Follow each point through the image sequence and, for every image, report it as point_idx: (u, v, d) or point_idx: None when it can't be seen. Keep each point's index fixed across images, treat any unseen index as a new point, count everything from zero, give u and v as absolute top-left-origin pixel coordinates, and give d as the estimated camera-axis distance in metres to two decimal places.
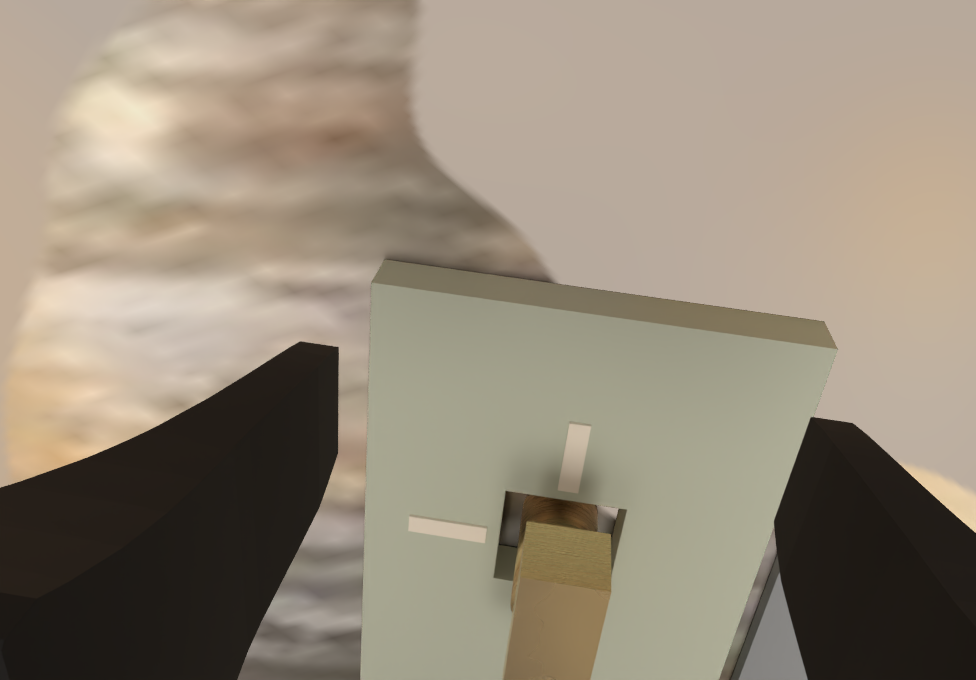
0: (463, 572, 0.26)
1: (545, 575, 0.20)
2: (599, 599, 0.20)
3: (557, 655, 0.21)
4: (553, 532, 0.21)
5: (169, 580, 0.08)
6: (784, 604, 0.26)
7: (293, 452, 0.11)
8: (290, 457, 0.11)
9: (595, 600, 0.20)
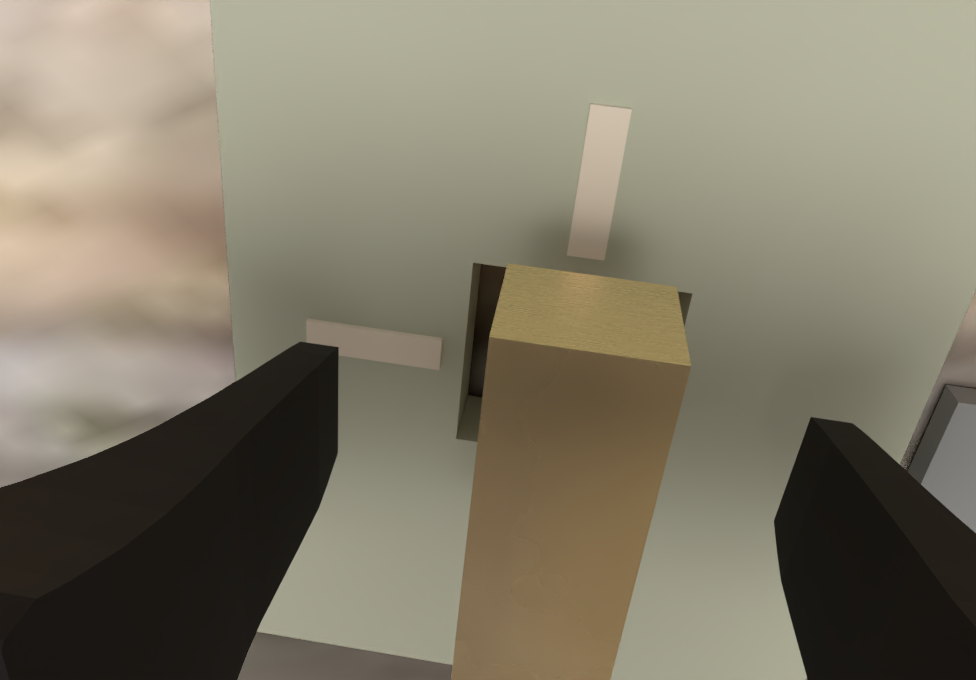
0: (405, 430, 0.15)
1: (543, 336, 0.09)
2: (663, 386, 0.09)
3: (569, 525, 0.10)
4: (561, 279, 0.10)
5: (169, 579, 0.08)
6: (951, 485, 0.15)
7: (293, 452, 0.11)
8: (290, 457, 0.11)
9: (654, 389, 0.09)
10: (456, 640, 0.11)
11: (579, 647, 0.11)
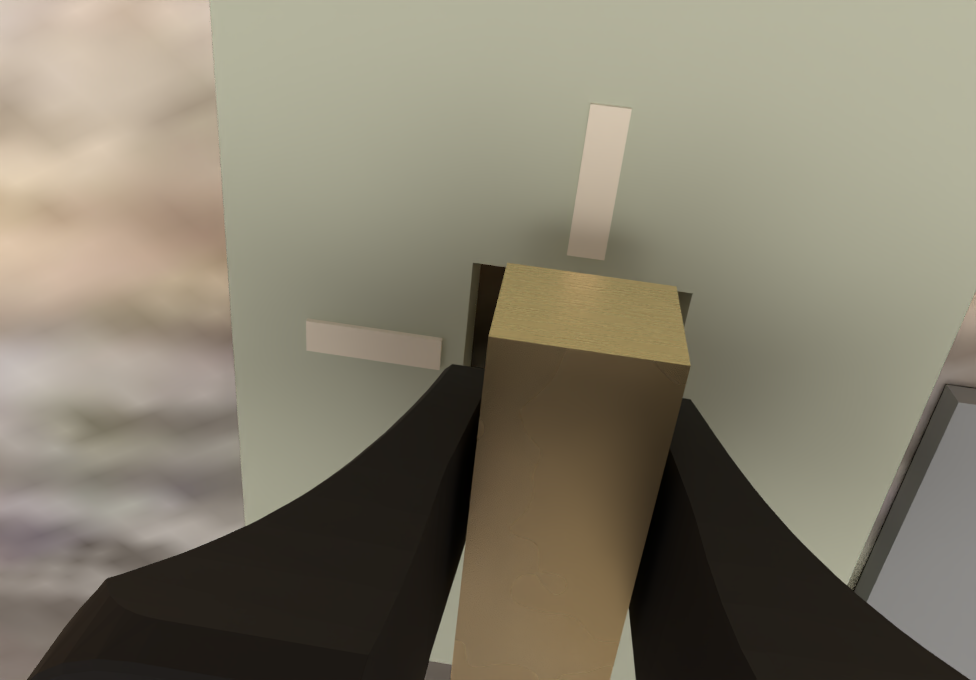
0: None
1: (543, 335, 0.09)
2: (662, 386, 0.09)
3: (569, 525, 0.10)
4: (560, 279, 0.10)
5: (408, 620, 0.08)
6: (951, 485, 0.15)
7: (464, 479, 0.11)
8: (462, 484, 0.11)
9: (654, 390, 0.09)
10: (455, 640, 0.11)
11: (579, 647, 0.11)
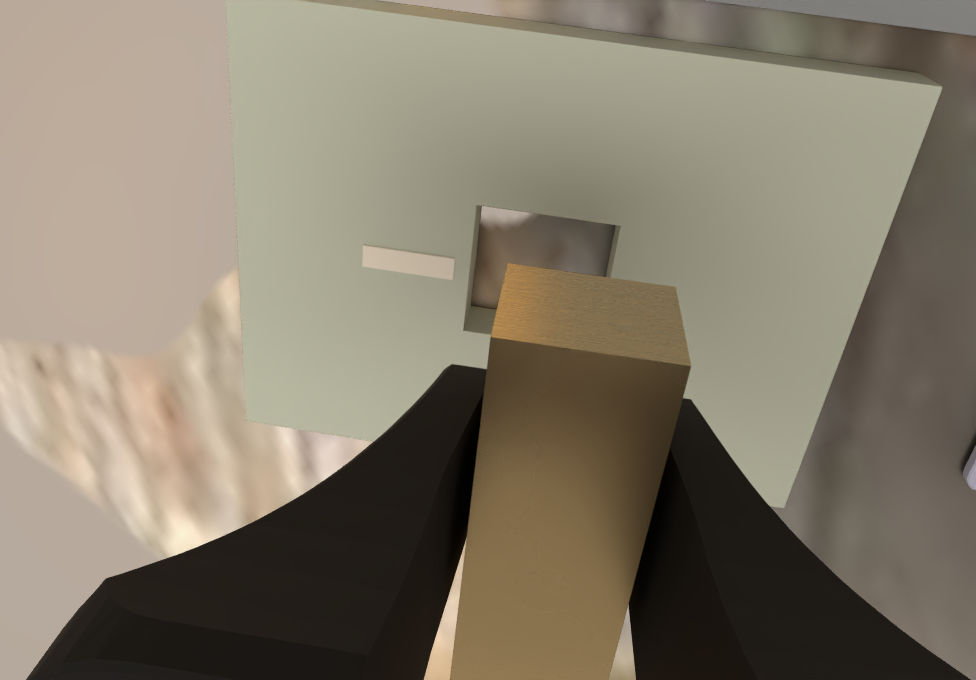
0: None
1: (545, 336, 0.09)
2: (663, 386, 0.09)
3: (569, 524, 0.10)
4: (560, 280, 0.10)
5: (407, 620, 0.08)
6: None
7: (464, 479, 0.11)
8: (462, 484, 0.11)
9: (655, 389, 0.09)
10: (455, 639, 0.11)
11: (578, 645, 0.11)
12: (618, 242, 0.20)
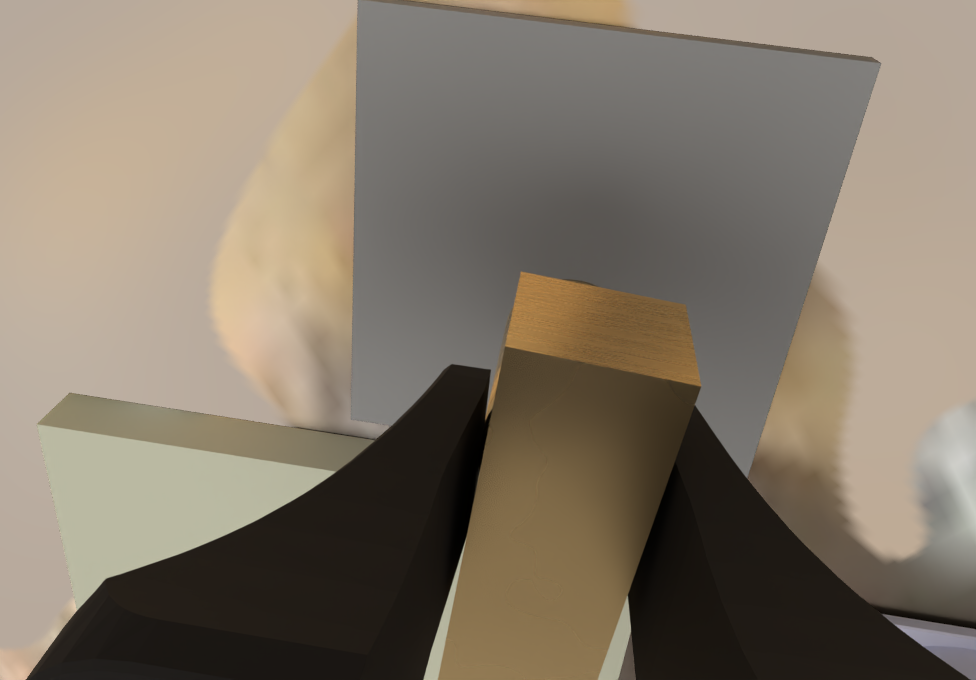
0: None
1: (559, 348, 0.09)
2: (672, 404, 0.09)
3: (568, 534, 0.10)
4: (573, 291, 0.11)
5: (407, 620, 0.08)
6: None
7: (464, 479, 0.11)
8: (462, 484, 0.11)
9: (664, 407, 0.09)
10: (446, 639, 0.12)
11: (568, 652, 0.11)
12: None
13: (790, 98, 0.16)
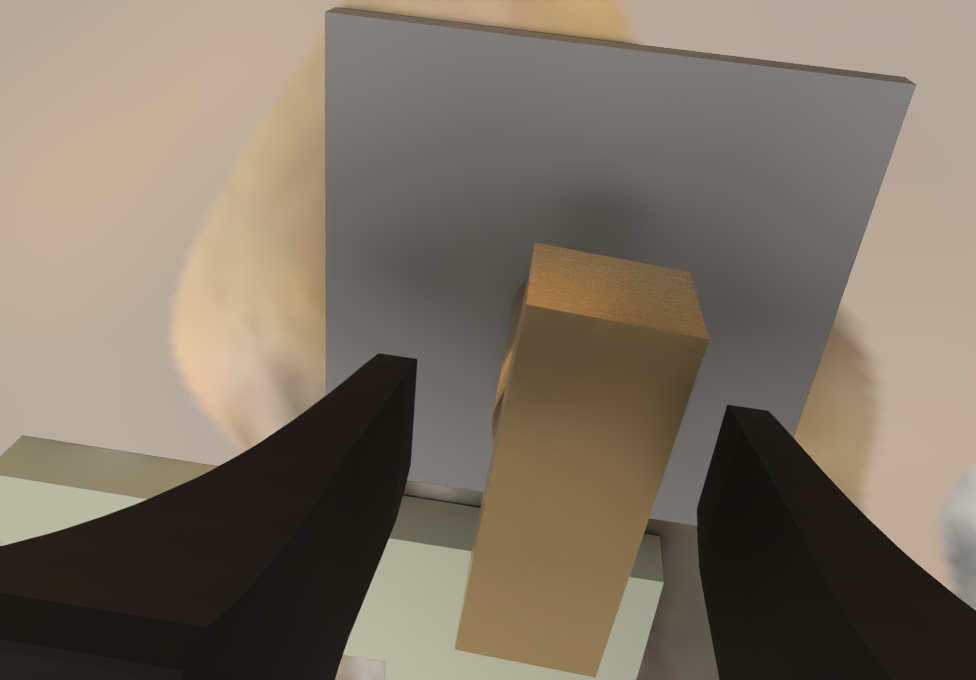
0: None
1: (575, 305, 0.10)
2: (682, 357, 0.10)
3: (584, 486, 0.11)
4: (584, 260, 0.11)
5: (292, 601, 0.08)
6: None
7: (381, 466, 0.11)
8: (379, 471, 0.11)
9: (674, 360, 0.10)
10: (466, 596, 0.12)
11: (582, 606, 0.12)
12: (386, 672, 0.21)
13: (812, 123, 0.14)
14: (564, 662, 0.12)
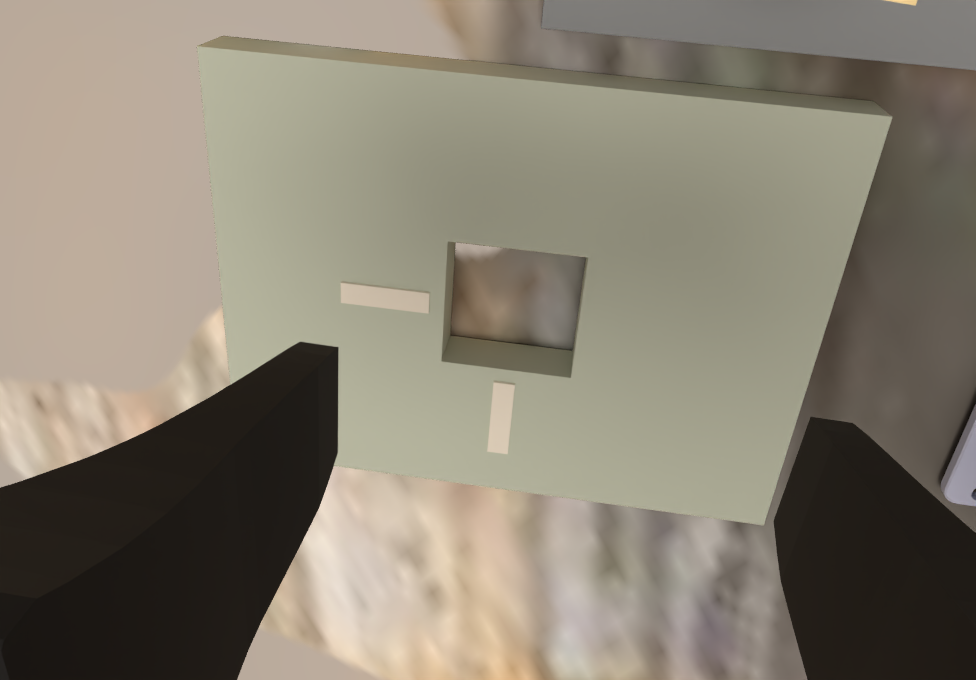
0: (566, 407, 0.23)
1: None
2: None
3: None
4: None
5: (169, 580, 0.08)
6: (622, 11, 0.19)
7: (293, 452, 0.11)
8: (290, 457, 0.11)
9: None
10: None
11: None
12: (586, 273, 0.21)
13: None
14: None
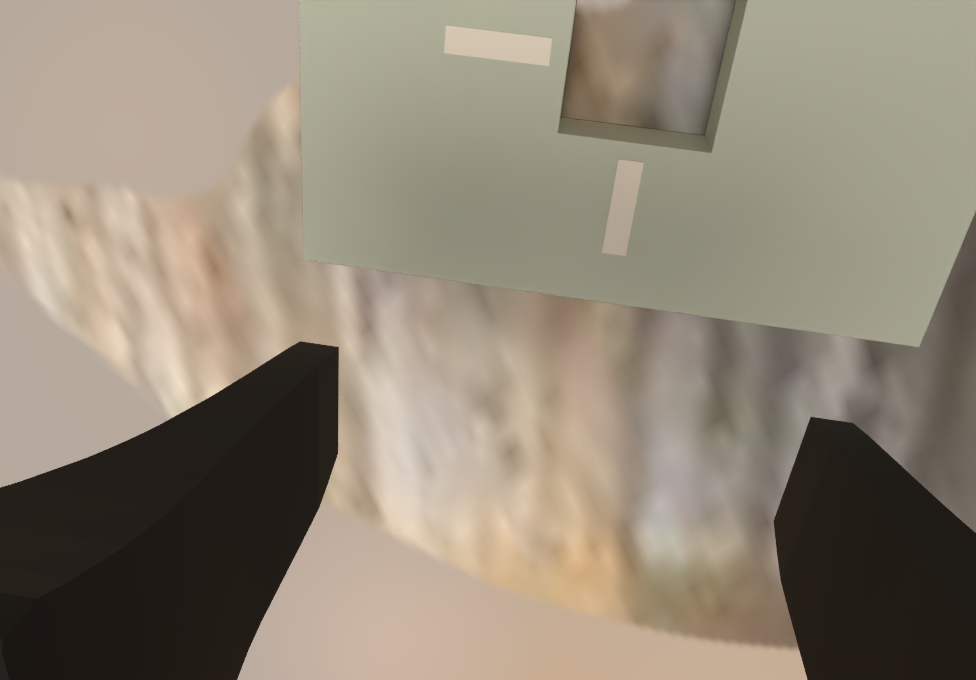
0: (702, 193, 0.20)
1: None
2: None
3: None
4: None
5: (169, 580, 0.08)
6: None
7: (293, 452, 0.11)
8: (290, 457, 0.11)
9: None
10: None
11: None
12: (746, 9, 0.18)
13: None
14: None
